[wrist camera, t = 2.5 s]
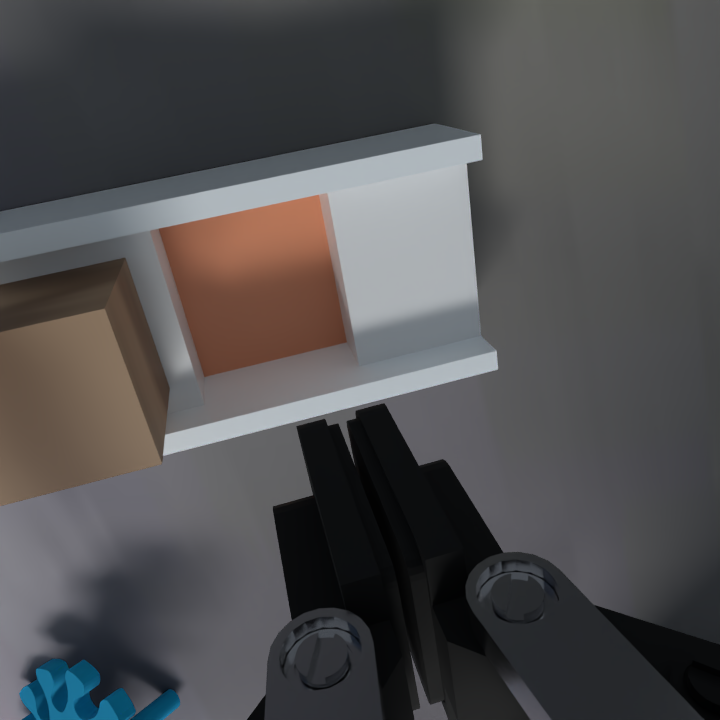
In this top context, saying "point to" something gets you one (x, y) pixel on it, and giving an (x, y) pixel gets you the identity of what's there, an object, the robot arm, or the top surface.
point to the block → (77, 381)
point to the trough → (286, 276)
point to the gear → (84, 696)
